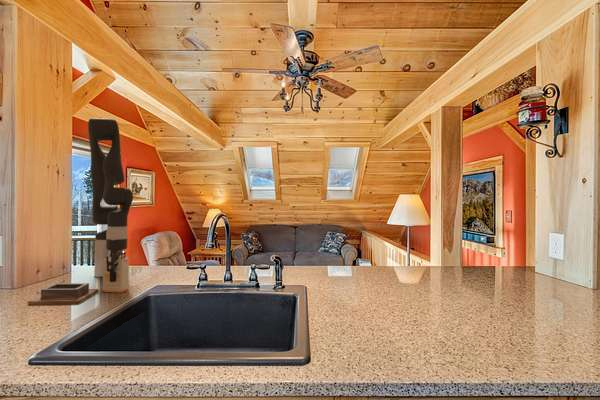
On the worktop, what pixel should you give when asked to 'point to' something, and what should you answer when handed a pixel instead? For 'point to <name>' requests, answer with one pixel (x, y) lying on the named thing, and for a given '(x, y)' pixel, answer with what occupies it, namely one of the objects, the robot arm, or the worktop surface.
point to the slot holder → (64, 294)
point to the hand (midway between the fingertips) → (115, 279)
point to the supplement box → (121, 277)
